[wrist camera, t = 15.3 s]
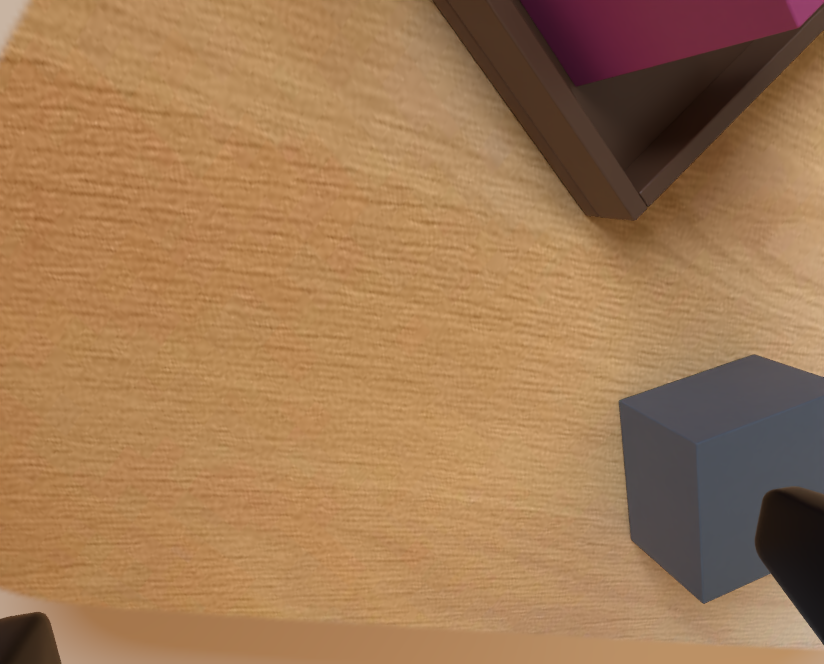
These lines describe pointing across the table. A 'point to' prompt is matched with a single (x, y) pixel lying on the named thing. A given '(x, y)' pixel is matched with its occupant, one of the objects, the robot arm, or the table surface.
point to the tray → (619, 103)
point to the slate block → (718, 465)
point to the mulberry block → (654, 30)
